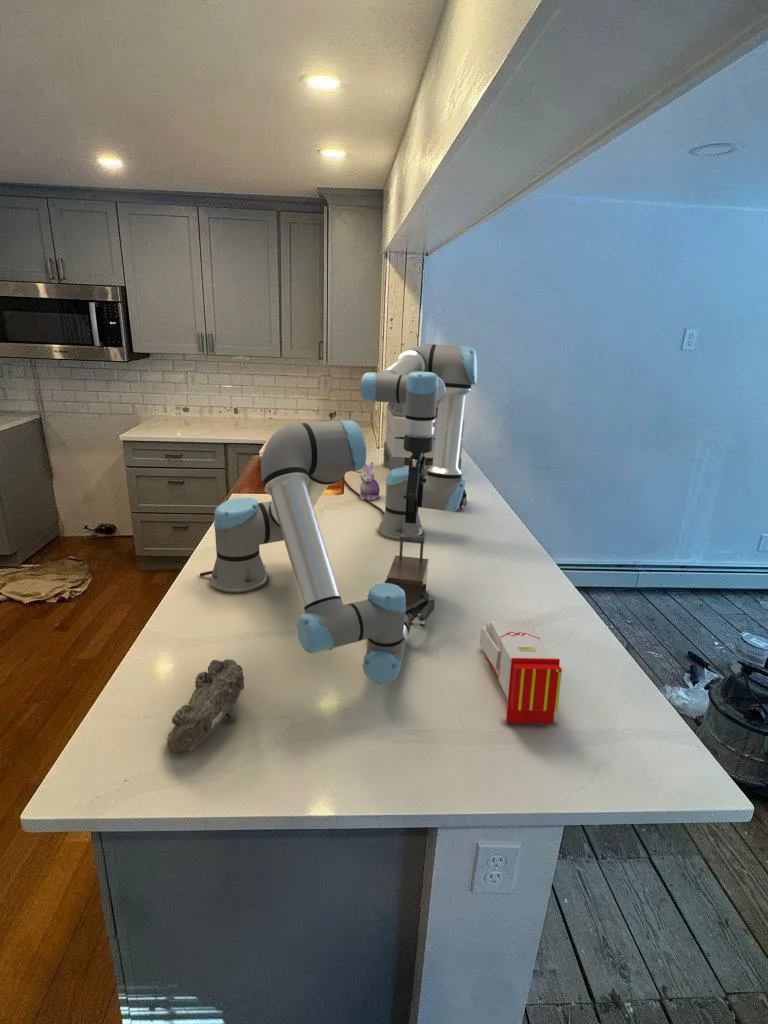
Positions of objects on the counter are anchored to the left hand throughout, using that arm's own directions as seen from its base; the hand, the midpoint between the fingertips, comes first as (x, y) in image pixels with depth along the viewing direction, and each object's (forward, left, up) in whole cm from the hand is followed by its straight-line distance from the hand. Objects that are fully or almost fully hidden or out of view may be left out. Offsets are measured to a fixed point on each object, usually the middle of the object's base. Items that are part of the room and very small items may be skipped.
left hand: (405, 586), depth 148 cm
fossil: (-30, -50, -6) cm, 59 cm away
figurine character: (+9, +88, -6) cm, 88 cm away
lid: (0, +4, +2) cm, 5 cm away
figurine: (-27, +88, -6) cm, 92 cm away
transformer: (-11, +132, -6) cm, 133 cm away
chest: (0, +4, -6) cm, 7 cm away
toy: (+27, -25, -6) cm, 38 cm away
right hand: (0, +9, +17) cm, 19 cm away
